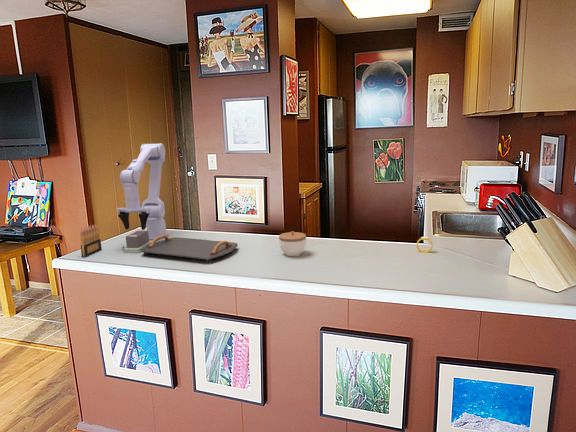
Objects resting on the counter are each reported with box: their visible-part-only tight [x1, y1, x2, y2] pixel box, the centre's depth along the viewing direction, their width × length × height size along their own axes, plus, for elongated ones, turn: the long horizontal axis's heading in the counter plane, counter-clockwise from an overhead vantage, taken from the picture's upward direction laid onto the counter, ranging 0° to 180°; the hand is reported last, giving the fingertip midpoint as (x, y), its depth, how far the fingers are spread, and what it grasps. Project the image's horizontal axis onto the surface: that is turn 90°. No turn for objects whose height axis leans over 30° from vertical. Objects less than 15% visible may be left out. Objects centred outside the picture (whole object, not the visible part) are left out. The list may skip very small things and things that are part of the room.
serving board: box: [140, 235, 238, 264], centre depth 188 cm, size 39×23×6 cm, turn 66°
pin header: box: [122, 240, 152, 254], centre depth 196 cm, size 13×7×4 cm, turn 168°
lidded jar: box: [278, 230, 307, 257], centre depth 180 cm, size 11×11×9 cm
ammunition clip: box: [80, 223, 103, 258], centre depth 190 cm, size 11×2×12 cm, turn 166°
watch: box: [416, 236, 434, 253], centre depth 178 cm, size 6×3×6 cm, turn 71°
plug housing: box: [125, 230, 150, 248], centre depth 196 cm, size 10×5×5 cm, turn 168°
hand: (135, 229), depth 196 cm, fingers open, 7 cm apart
